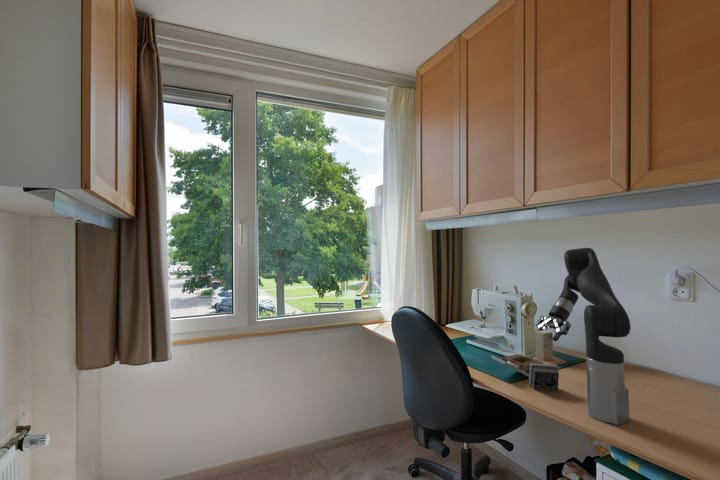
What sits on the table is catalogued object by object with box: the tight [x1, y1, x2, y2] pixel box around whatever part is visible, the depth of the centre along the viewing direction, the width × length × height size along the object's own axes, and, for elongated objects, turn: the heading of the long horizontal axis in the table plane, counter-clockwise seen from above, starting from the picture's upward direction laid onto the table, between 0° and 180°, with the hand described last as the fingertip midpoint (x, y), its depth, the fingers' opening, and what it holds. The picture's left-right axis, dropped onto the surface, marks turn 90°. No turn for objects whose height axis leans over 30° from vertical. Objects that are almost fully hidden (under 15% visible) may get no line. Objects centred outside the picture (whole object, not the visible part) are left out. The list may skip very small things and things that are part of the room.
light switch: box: [490, 355, 530, 378], centre depth 133 cm, size 8×6×14 cm
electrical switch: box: [528, 363, 560, 392], centre depth 121 cm, size 9×5×9 cm, turn 75°
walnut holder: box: [502, 353, 543, 374], centre depth 144 cm, size 12×10×3 cm
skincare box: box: [534, 329, 554, 361], centre depth 151 cm, size 6×4×12 cm
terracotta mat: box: [532, 356, 567, 366], centre depth 151 cm, size 12×12×1 cm
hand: (545, 337), depth 152 cm, fingers open, 8 cm apart
